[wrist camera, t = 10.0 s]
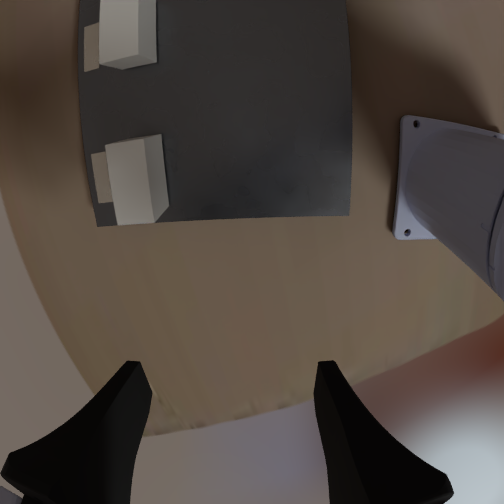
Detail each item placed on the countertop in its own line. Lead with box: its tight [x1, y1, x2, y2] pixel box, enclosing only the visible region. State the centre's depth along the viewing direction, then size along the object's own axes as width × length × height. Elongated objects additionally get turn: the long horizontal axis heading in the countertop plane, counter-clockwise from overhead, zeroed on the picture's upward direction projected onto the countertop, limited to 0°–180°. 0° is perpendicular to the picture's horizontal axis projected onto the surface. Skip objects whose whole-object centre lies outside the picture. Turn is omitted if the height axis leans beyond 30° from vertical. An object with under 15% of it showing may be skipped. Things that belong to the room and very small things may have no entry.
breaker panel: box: [78, 0, 352, 227], centre depth 13 cm, size 15×22×2 cm
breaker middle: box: [99, 0, 157, 70], centre depth 11 cm, size 2×4×3 cm, turn 3°
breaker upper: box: [105, 134, 169, 225], centre depth 14 cm, size 2×4×3 cm, turn 2°
